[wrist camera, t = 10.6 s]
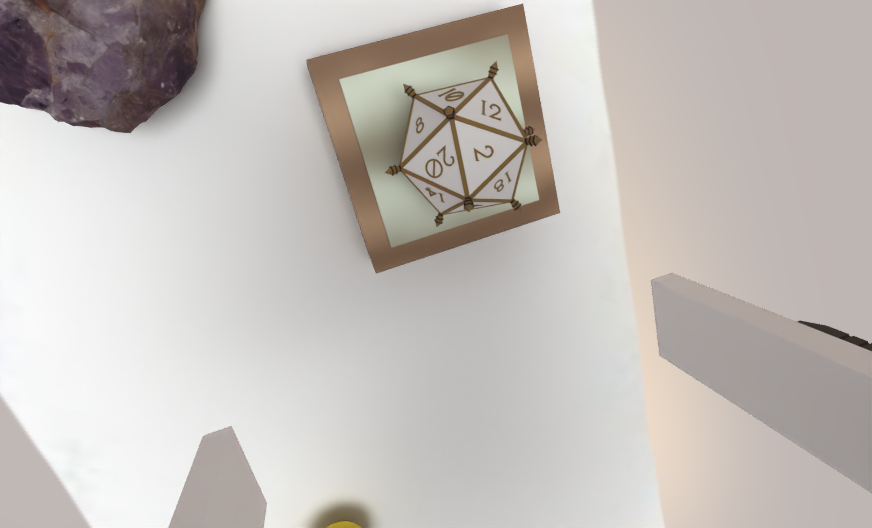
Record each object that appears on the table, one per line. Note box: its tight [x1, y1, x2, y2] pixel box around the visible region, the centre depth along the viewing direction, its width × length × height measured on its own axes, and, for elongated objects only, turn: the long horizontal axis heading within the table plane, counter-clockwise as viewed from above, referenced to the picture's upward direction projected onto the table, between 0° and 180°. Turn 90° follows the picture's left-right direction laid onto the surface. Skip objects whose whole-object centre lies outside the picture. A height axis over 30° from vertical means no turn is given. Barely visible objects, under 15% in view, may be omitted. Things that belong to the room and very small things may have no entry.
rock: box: [0, 0, 206, 133], centre depth 26 cm, size 12×9×10 cm
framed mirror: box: [306, 4, 560, 273], centre depth 33 cm, size 14×14×4 cm
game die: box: [385, 61, 543, 227], centre depth 28 cm, size 9×8×10 cm
